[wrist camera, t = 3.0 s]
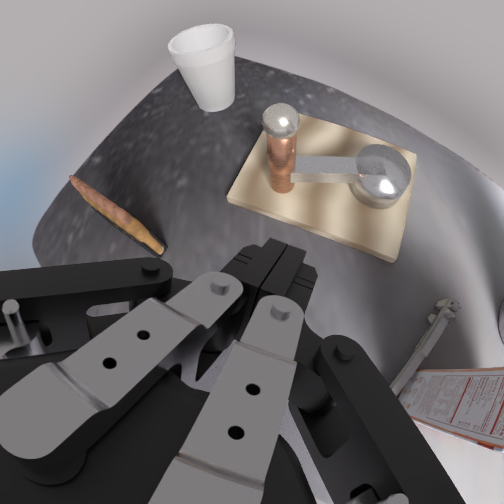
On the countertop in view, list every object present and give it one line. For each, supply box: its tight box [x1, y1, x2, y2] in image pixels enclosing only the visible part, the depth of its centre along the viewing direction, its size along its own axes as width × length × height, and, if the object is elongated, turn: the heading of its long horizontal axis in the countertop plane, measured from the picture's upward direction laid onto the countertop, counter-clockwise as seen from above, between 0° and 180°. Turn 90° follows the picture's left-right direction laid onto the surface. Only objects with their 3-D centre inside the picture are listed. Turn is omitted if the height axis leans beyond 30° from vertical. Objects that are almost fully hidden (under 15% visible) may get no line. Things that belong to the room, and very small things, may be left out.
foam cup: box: [168, 24, 235, 112], centre depth 39 cm, size 10×9×13 cm
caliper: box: [389, 298, 461, 396], centre depth 27 cm, size 20×1×6 cm, turn 141°
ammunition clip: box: [70, 175, 168, 259], centre depth 33 cm, size 11×2×12 cm, turn 57°
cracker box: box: [398, 367, 504, 454], centre depth 17 cm, size 14×6×21 cm, turn 60°
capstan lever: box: [262, 103, 412, 209], centre depth 30 cm, size 17×7×13 cm, turn 88°
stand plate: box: [227, 113, 417, 263], centre depth 38 cm, size 22×17×2 cm
